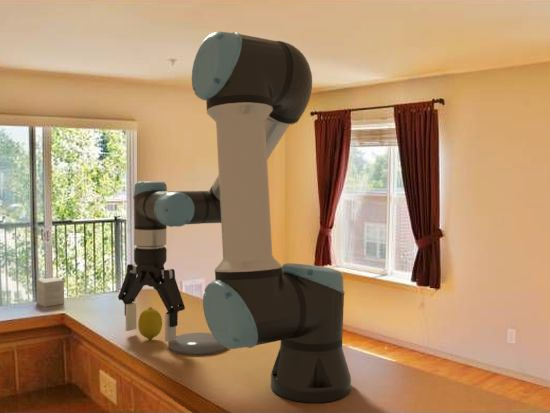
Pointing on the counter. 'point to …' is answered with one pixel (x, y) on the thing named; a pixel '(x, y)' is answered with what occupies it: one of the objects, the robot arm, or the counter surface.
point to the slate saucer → (195, 344)
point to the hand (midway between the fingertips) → (150, 334)
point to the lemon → (150, 323)
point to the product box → (50, 291)
